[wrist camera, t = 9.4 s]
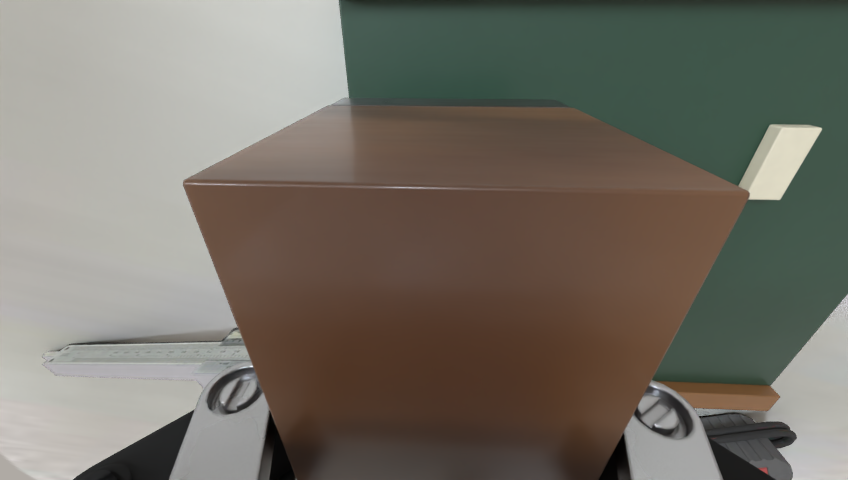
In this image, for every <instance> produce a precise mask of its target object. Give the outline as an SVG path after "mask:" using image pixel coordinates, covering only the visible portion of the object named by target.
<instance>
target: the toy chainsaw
mask: <svg viewBox="0 0 848 480" xmlns="http://www.w3.org/2000/svg"><path fill="white" fill-rule="evenodd" d="M700 420H701V422H702V424H703V427H704V430H705V432H706V435H707V437H708V438H710V439H712V440H713V441H715V442H717V443H718V444H720V445H721V446H723V447H725V448H726V449H728V450H729V451H731V452H733V453H734V454H736V455H737V456H739V457H741V458H742V459H744V460H745V461H747V462H749V463H750V464H752V465H754V466H755V467H757V468H758V469H760V470H762V471H763V472H765V473H766V474H768V475H770V476H771V477H773V478H774V479H776V480H792V477H793V472H792V469H791V466H790V464H789V463H788V462H787V461H786V460H785V458H784V457H783V456H782V455H781V454H780V452H779V451H778V450H777V448H782V447H785V446H788V445H790V444H792V443H793V442H794V441H795V440H796V438H797V437H796V434H795V433H794V432H793V431H791V430H790V428H789V426H788V425H786V424H784V423H782V422H762V423H755V422H754V421H753V420H752V418H749V417H746V416H744V415H741V414H725V415H718V416H710V417H703V418H700Z"/></svg>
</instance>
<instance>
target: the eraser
mask: <svg viewBox="0 0 848 480" xmlns="http://www.w3.org/2000/svg"><path fill="white" fill-rule="evenodd" d="M183 186H184V189H185V191H186V194H187V196H188V199H189V202H190V204H191V207H192V209H193V212H194V215H195V217H196V220H197V222H198V225H199V228H200V230H201V233H202V235H203V238H204V241H205V243H206V246H207V248H208V251H209V254H210V256H211V259H212V261H213V264H214V267H215V269H216V272H217V274H218V277H219V280H220V282H221V285H222V287H223V290H224V292H225V295H226V298H227V300H228V303H229V305H230V308H231V311H232V313H233V316H234V318H235V321H236V324H237V326H238V329H239V331H240V334H241V337H242V339H243V342H244V344H245V347H246V350H247V352H248V355H249V357H250V360H251V363H252V365H253V368H254V370H255V373H256V376H257V378H258V381H259V383H260V386H261V389H262V391H263V394H264V396H265V399H266V402H267V404H268V407H269V409H270V412H271V415H272V417H273V420H274V422H275V425H276V428H277V430H278V433H279V435H280V438H281V440H282V443H283V446H284V448H285V451H286V453H287V456H288V459H289V461H290V464H291V466H292V469H293V472H294V474H295V477H296V479H297V480H599V478H600V476H601V474H602V472H603V470H604V468H605V466H606V465H607V463H608V461H609V459H610V457H611V455H612V453H613V452H614V450H615V448H616V446H617V444H618V442H619V440H620V438H621V437H622V435H623V433H624V431H625V429H626V427H627V425H628V423H629V422H630V420H631V418H632V416H633V414H634V412H635V410H636V408H637V407H638V405H639V403H640V401H641V399H642V397H643V395H644V393H645V392H646V390H647V388H648V386H649V384H650V382H651V380H652V379H653V377H654V375H655V373H656V371H657V369H658V367H659V365H660V364H661V362H662V360H663V358H664V356H665V354H666V352H667V350H668V349H669V347H670V345H671V343H672V341H673V339H674V337H675V335H676V334H677V332H678V330H679V328H680V326H681V324H682V322H683V320H684V319H685V317H686V315H687V313H688V311H689V309H690V307H691V305H692V304H693V302H694V300H695V298H696V296H697V294H698V292H699V291H700V289H701V287H702V285H703V283H704V281H705V279H706V277H707V276H708V274H709V272H710V270H711V268H712V266H713V264H714V262H715V261H716V259H717V257H718V255H719V253H720V251H721V249H722V247H723V246H724V244H725V242H726V240H727V238H728V236H729V234H730V232H731V231H732V229H733V227H734V225H735V223H736V221H737V219H738V218H739V216H740V214H741V212H742V210H743V208H744V206H745V204H746V203H747V201H748V199H749V197H750V193H749V191H747V190H745V189H743V188H741V187H739V186H737V185H734V184H732V183H730V182H728V181H726V180H724V179H722V178H720V177H718V176H716V175H713V174H711V173H709V172H707V171H705V170H703V169H701V168H699V167H697V166H695V165H693V164H690V163H688V162H686V161H684V160H682V159H680V158H678V157H676V156H674V155H672V154H670V153H667V152H665V151H663V150H661V149H659V148H657V147H655V146H653V145H651V144H649V143H646V142H644V141H642V140H640V139H638V138H636V137H634V136H632V135H630V134H628V133H626V132H623V131H621V130H619V129H617V128H615V127H613V126H611V125H609V124H607V123H605V122H603V121H600V120H598V119H596V118H594V117H592V116H590V115H588V114H586V113H584V112H582V111H579V110H577V109H575V108H571V107H569V106H567V105H565V104H563V103H561V102H559V101H557V100H544V99H427V98H343V99H341V100H339V101H338V102H336V103H334V104H332V105H330V106H326V107H324V108H322V109H320V110H318V111H317V112H315V113H313V114H311V115H309V116H307V117H305V118H303V119H301V120H299V121H297V122H295V123H293V124H291V125H290V126H288V127H286V128H284V129H282V130H280V131H278V132H276V133H274V134H272V135H270V136H268V137H266V138H264V139H263V140H261V141H259V142H257V143H255V144H253V145H251V146H249V147H247V148H245V149H243V150H241V151H239V152H237V153H236V154H234V155H232V156H230V157H228V158H226V159H224V160H222V161H220V162H218V163H216V164H214V165H212V166H210V167H209V168H207V169H205V170H203V171H201V172H199V173H197V174H195V175H193V176H191V177H189V178H187V179H185V180H184V181H183Z"/></svg>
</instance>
